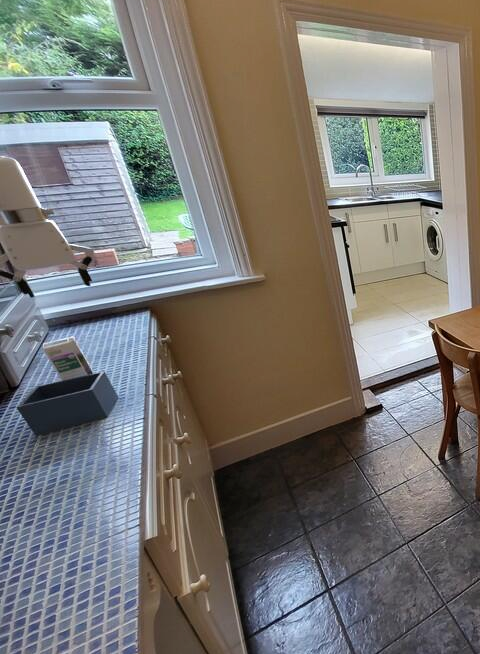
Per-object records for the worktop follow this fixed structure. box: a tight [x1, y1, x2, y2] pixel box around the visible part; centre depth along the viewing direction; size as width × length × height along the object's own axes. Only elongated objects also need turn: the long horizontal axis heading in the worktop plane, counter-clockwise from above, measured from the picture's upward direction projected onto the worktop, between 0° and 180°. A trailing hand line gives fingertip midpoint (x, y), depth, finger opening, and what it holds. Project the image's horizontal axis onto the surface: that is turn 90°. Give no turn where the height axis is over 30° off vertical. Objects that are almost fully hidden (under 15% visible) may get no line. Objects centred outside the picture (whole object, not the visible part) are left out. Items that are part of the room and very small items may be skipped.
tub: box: [16, 370, 119, 437], centre depth 95 cm, size 12×10×8 cm
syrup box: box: [42, 335, 95, 381], centre depth 104 cm, size 6×6×14 cm
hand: (61, 290), depth 98 cm, fingers open, 9 cm apart
